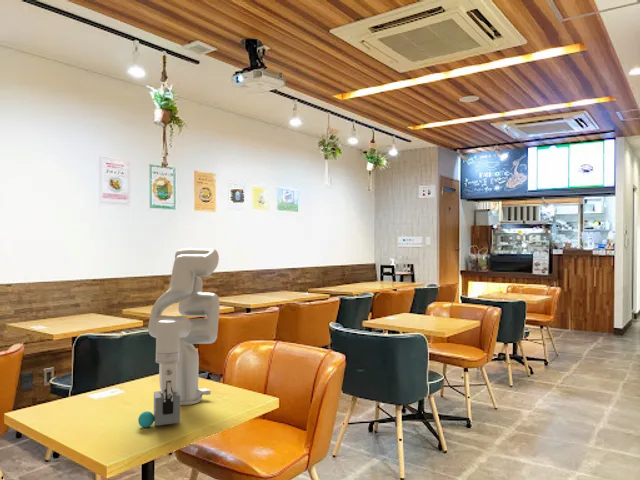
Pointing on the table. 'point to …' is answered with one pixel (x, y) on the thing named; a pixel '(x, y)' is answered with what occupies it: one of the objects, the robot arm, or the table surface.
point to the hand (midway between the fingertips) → (166, 409)
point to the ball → (146, 419)
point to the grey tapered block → (158, 409)
